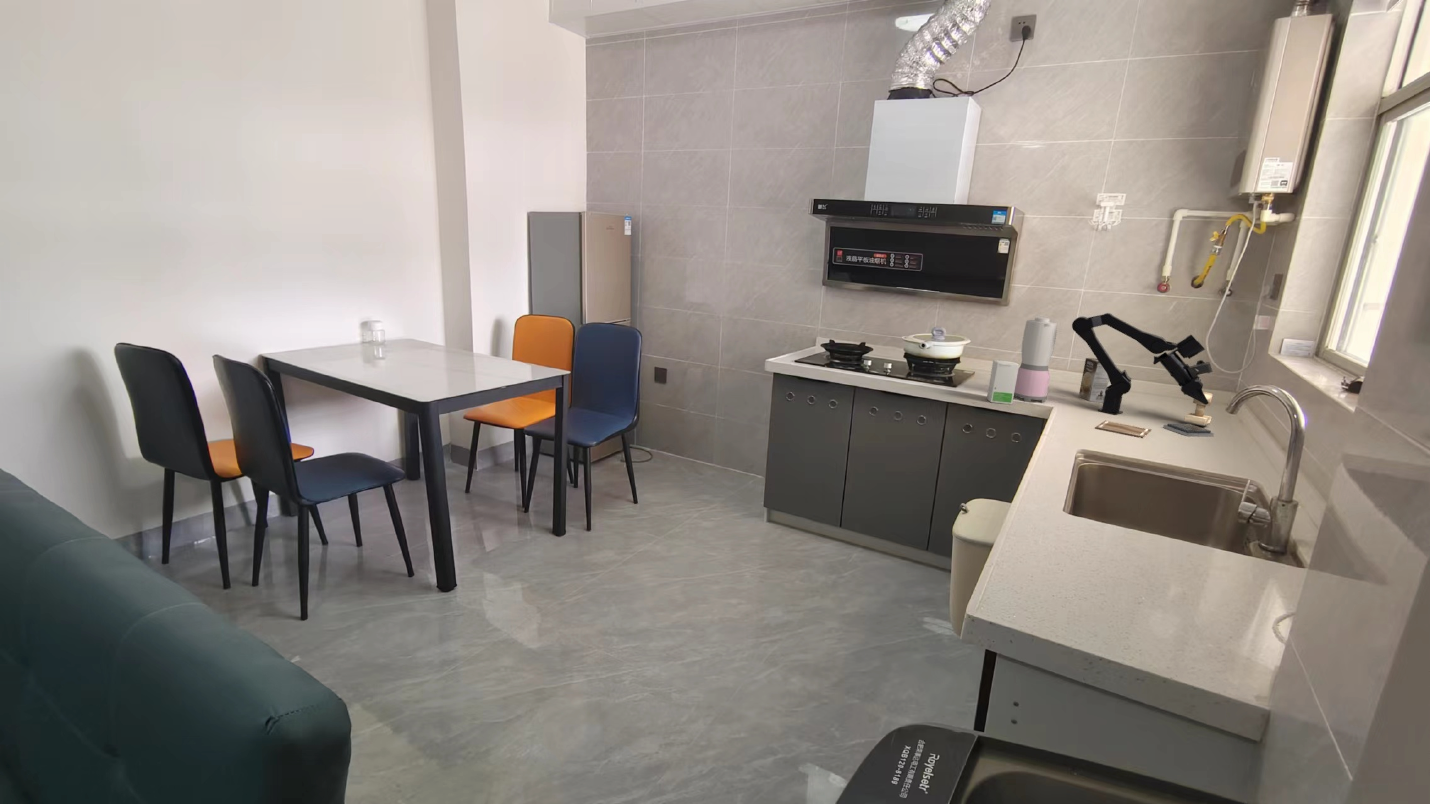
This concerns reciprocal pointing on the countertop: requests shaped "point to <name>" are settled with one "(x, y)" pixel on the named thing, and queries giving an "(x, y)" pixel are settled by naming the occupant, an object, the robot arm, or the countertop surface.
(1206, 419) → the rubber stamp
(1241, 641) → the countertop surface
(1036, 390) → the blender
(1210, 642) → the countertop surface
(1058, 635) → the countertop surface
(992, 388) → the skincare box
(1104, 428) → the stamp board
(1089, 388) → the coffee box
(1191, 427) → the ink pad
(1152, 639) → the countertop surface
